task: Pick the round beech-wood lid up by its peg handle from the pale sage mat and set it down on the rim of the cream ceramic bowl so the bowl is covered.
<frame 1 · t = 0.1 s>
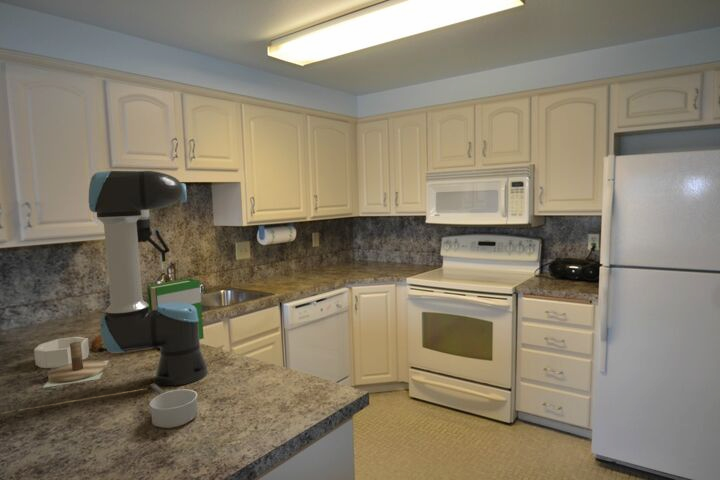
hand: (143, 271, 179), 28 cm above the countertop, fingers open, 13 cm apart
lid: (78, 372, 145), point 1 cm above the countertop, touching mat
saucepan: (168, 415, 116), on the countertop
hardback book: (178, 343, 176), on the countertop
mat: (78, 374, 146), on the countertop
bread roll: (106, 349, 171), on the countertop
bowl: (63, 361, 159), on the countertop
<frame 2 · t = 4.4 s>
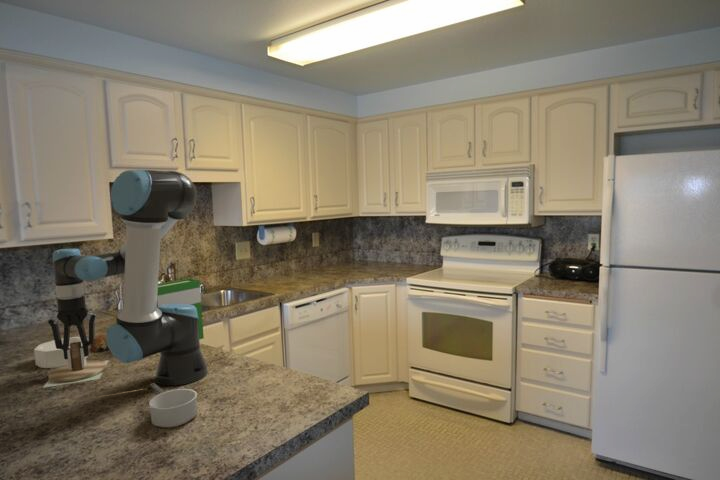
hand: (77, 367, 145), 3 cm above the countertop, fingers closed on lid, 3 cm apart
lid: (78, 372, 145), point 1 cm above the countertop, touching gripper
everything else where it was.
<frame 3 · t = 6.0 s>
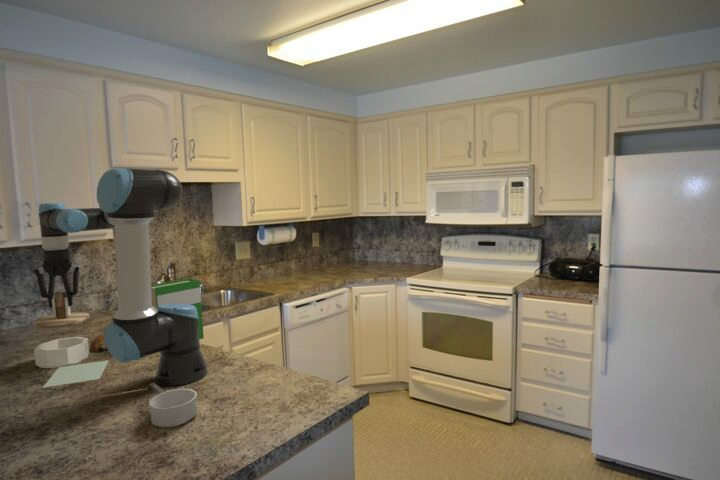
hand: (62, 315, 153), 18 cm above the countertop, fingers closed on lid, 3 cm apart
lid: (62, 321, 153), point 16 cm above the countertop, touching gripper
everything else where it was.
when the fingers open (10 cm above the countertop, at t = 7.7 s): lid drops 2 cm, resting on bowl.
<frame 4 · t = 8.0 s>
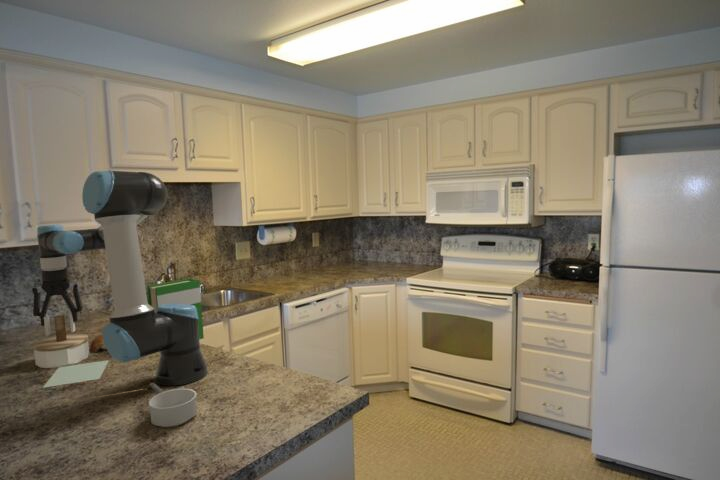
hand: (60, 332, 158), 11 cm above the countertop, fingers open, 7 cm apart
lid: (61, 343, 158), point 6 cm above the countertop, touching bowl
everything else where it was.
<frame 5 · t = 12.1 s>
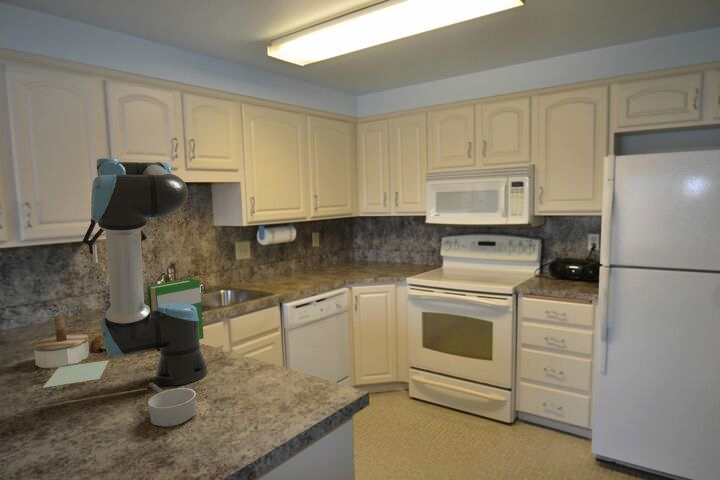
hand: (117, 261, 160), 35 cm above the countertop, fingers open, 13 cm apart
nothing on the countertop moved.
at the end: lid 0.0 cm off-centre on the bowl, point 6.5 cm above the bowl's base; lid tilted 0°; the gripper is holding nothing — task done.
